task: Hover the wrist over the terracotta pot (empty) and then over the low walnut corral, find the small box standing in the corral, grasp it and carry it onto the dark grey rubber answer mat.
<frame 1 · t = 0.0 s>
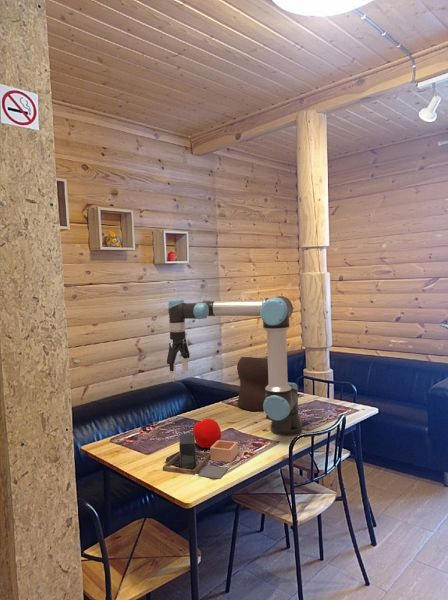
hand: (179, 374, 215), 28 cm above the table, fingers open, 13 cm apart
walnut corral: (188, 463, 179), on the table
terracotta pot: (224, 456, 184), on the table
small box: (188, 464, 179), resting in walnut corral
red round ball: (207, 445, 197), on the table
vase: (261, 405, 255), on the table
answer mat: (213, 472, 170), on the table
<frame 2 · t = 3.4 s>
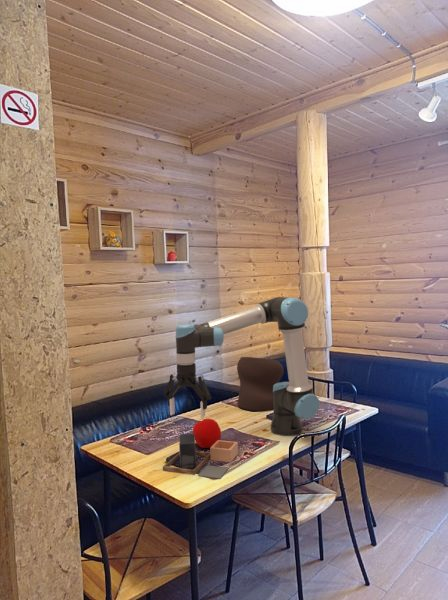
hand: (187, 415, 178), 20 cm above the table, fingers open, 13 cm apart
nothing on the table moved.
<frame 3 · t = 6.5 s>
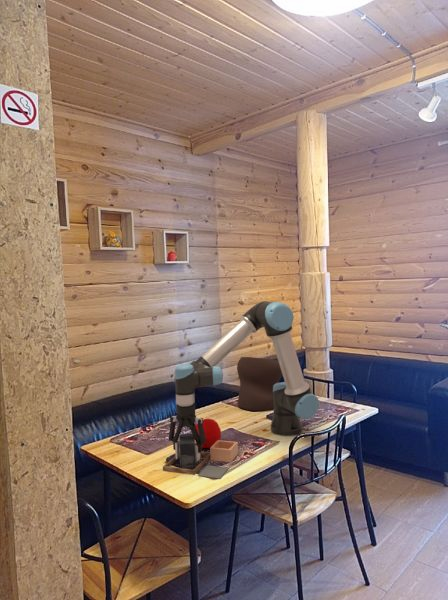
hand: (188, 458, 179), 2 cm above the table, fingers closed on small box, 8 cm apart
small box: (188, 463, 179), resting in walnut corral, touching gripper
everything else where it was.
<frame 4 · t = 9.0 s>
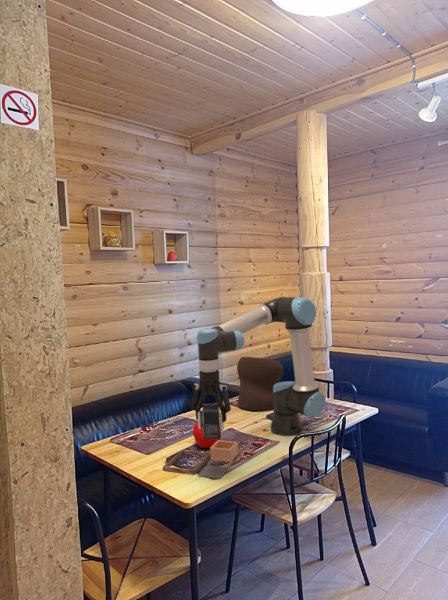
hand: (211, 428, 169), 17 cm above the table, fingers closed on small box, 8 cm apart
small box: (211, 434, 169), point 15 cm above the table, touching gripper
everything else where it was.
when the fingers open (4 cm above the table, at t = 11.8 s): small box drops 1 cm, resting on answer mat.
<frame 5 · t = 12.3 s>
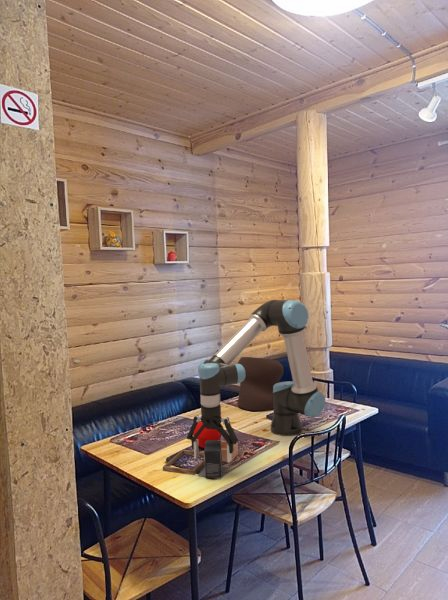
hand: (212, 459, 169), 5 cm above the table, fingers open, 13 cm apart
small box: (213, 472, 169), resting on answer mat
everything else where it was.
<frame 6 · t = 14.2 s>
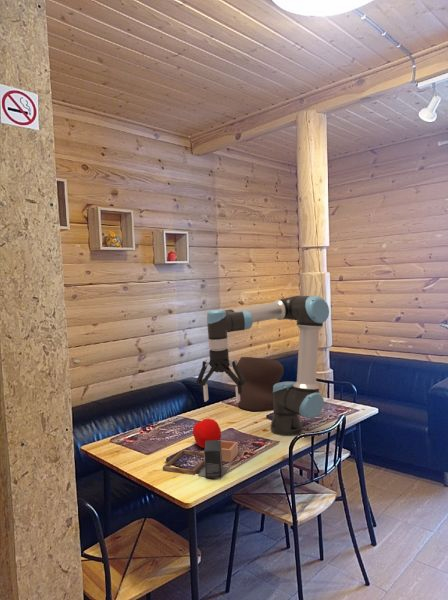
hand: (222, 401, 177), 25 cm above the table, fingers open, 13 cm apart
nothing on the table moved.
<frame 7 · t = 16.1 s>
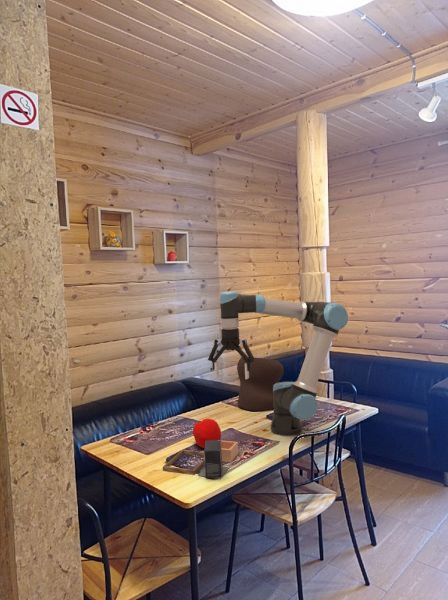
hand: (231, 377, 188), 32 cm above the table, fingers open, 13 cm apart
nothing on the table moved.
at the end: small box 0.2 cm from the answer mat (horizontally); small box tilted 0°; the gripper is holding nothing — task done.
